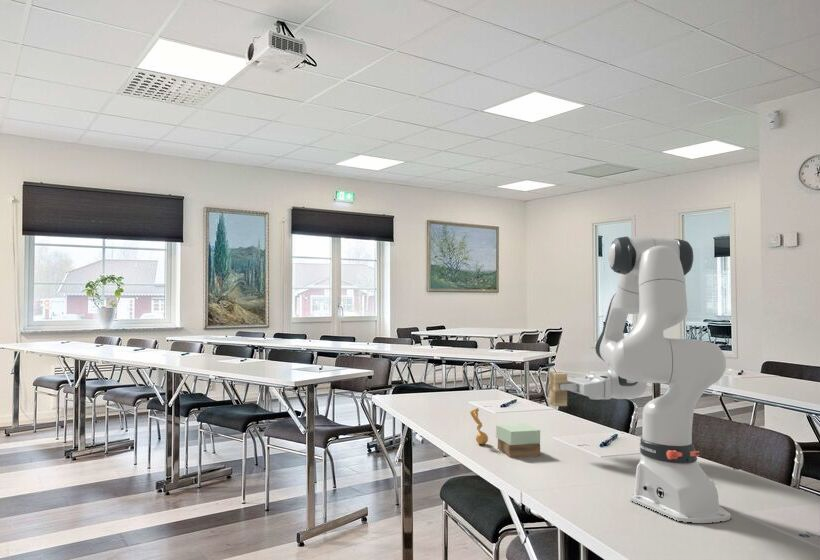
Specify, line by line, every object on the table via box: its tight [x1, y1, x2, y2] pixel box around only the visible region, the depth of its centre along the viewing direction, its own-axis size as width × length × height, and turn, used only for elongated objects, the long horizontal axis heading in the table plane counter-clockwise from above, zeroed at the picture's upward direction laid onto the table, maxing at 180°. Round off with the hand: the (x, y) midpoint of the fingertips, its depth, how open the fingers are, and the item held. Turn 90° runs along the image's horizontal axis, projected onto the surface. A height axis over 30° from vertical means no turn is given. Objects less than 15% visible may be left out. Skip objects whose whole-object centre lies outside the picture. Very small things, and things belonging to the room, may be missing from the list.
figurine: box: [469, 407, 489, 446], centre depth 195 cm, size 8×6×12 cm
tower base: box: [497, 438, 541, 458], centre depth 186 cm, size 10×10×4 cm
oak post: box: [548, 371, 568, 407], centre depth 186 cm, size 4×4×10 cm
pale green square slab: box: [495, 423, 541, 445], centre depth 186 cm, size 10×10×4 cm
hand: (555, 385), depth 186 cm, fingers closed on oak post, 4 cm apart
